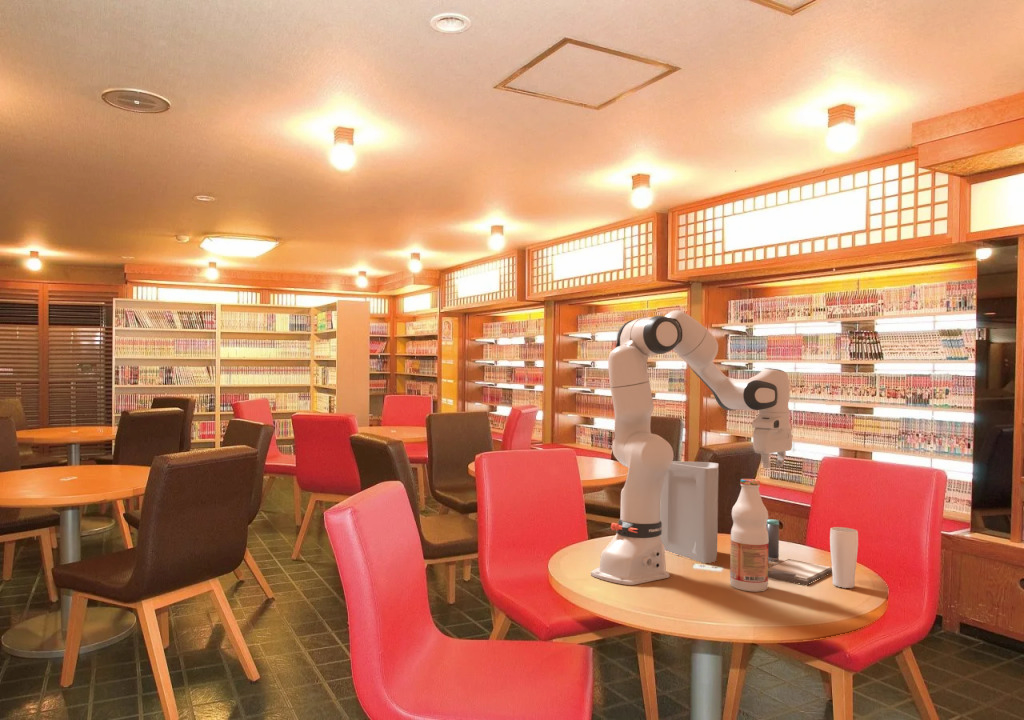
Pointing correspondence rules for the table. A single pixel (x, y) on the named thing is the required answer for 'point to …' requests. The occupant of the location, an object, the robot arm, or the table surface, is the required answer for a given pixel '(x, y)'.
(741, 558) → the fruit juice
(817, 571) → the dark grey notebook
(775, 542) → the marker
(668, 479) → the gray plastic bin
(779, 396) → the robot arm
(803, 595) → the table surface
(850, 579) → the drinking glass
